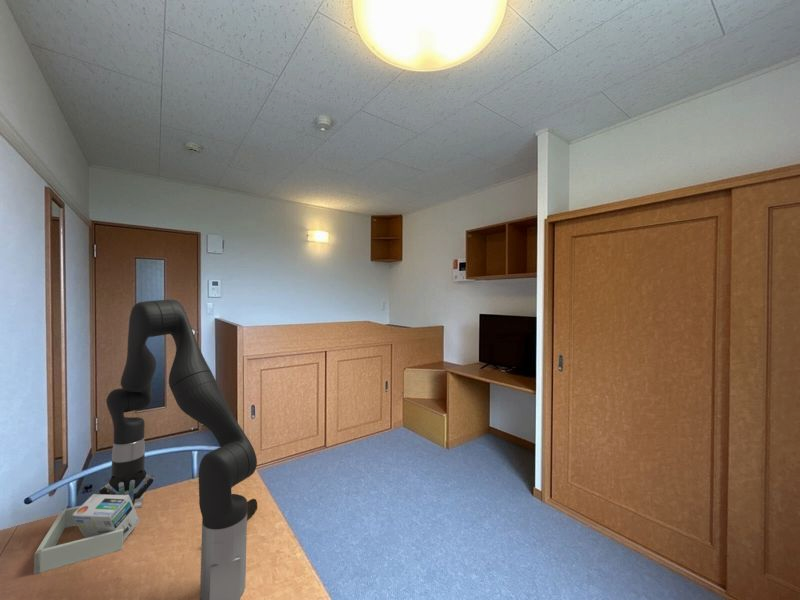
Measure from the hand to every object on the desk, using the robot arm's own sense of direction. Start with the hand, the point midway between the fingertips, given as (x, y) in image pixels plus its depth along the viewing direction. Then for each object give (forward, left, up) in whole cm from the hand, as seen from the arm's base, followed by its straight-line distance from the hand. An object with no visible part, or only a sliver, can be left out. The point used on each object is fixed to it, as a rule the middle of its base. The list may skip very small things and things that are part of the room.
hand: (127, 514), depth 99 cm
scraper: (+13, +6, -4) cm, 14 cm away
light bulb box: (-3, +3, -3) cm, 5 cm away
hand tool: (-16, -27, -4) cm, 31 cm away
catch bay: (-1, +8, -4) cm, 9 cm away
